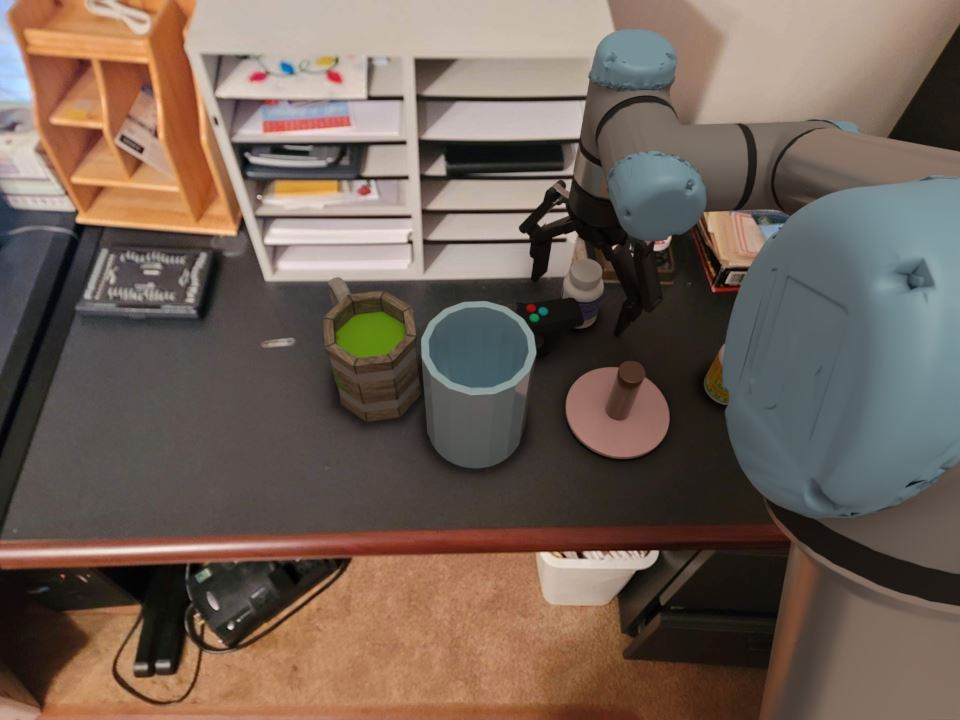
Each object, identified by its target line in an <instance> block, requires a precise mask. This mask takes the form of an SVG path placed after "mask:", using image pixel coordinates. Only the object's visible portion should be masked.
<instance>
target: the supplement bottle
mask: <svg viewBox="0 0 960 720" xmlns="http://www.w3.org/2000/svg"><path fill="white" fill-rule="evenodd" d="M724 348H725V343H724V344H723V345H722V346H721V347H720V348H719V350H718V352H717V354H716V356H715V358H714V361H713V362H712V364H711V365H710V367H709V370H707V372H706V375H705V377H704V381H703V387H704V391H705V393H706V394H707V395H708V397H709V398H711V400H713V401H714V402H716V403H718V404H719V405H724V406H728V403H729V392H728V391H726V390H724V389H723V387H722V367H723V356H724Z"/></svg>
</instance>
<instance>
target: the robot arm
mask: <svg viewBox="0 0 960 720" xmlns="http://www.w3.org/2000/svg"><path fill="white" fill-rule="evenodd" d="M677 64H678V53H677V50H676V48H675V46H674V45H673V44H672V42H671V41H669V40H668V39H667V38H666V37H664V36H662V34H659V33H656V32H654V31H651V30H647V29H642V28H633V29H631V28H628V29H627V28H625V29H620V30H616V31H613V32H611V33H609V34H607V35H606V36H605V37H603V38H602V39H601V40H600V42H599V43H598V44H597V46H596V49H595V51H594V56H593V60H592V65H591V68H590V71H589V72H588V76H587V78H588V86H587V92H586V97H585V103H584V109H583V114H582V121H581V127H580V134H579V139H578V140H579V141H578V144H577V149H576V154H575V160H574V165H573V170H572V172H573V174H572V177H571V182H570V189H569V191H568V190H567V189H566V188H567V183H566V182H565V181H564V180H563V179H558V180H557V181H556V182H554V184H552V185H551V186H550V187H548V189H546V190H545V192H544V197H543V200H542V202H541V203H539V205H538V206H537V207H536V208H534V210H533V211H532V212H531V213H530V214H529V215H528V216H527V217H526V218H525V220H524V221H522V223H521V224H519V225H518V230H519V232H520V233H521V234H523V235H524V234H525V235H526V234H527V236H528V238H529V241H530V246H529V252H528V253H529V257H530V258H531V259H533V260H532V267H531V273H530V281H531V282H533V283H536V282H538V281H539V280H540V279H541V278H542V277H544V276H545V275H546V273H547V272H548V270H549V263H550V257H551V251H552V246H553V239H554V238H556V237H560V236H561V235H564V236H565V235H568V234H571V233H573V232H575V233H576V234H577V235H578V236H577V237H578V238H579V239H581V240H582V241H585V242H587V243H589V244H590V245H591V246H593V247H594V248H595V249H597V250H599V251H600V250H601V252H602V255H603V257H604V258H605V261H606V262H610V264H611V267H612V268H613V271H614V273H615V275H616V277H617V279H618V281H619V284H620V286H621V288H622V291H623V292H624V294H625V296H626V299H625V300H624V301H623V302H622V304H621V309H620V311H619V315H618V317H617V321H616V323H615V327H614V330H613V333H612V335H613V336H615V337H616V338H619V337H620V336H621V335H622V334H623V333H624V332H625V331H626V330H627V329H628V328H629V327H630V326H631V323H632V324H633V323H634V322H636V321H637V319H639V317H640V316H641V315H642V313H643V311H645V312H646V313H649V314H651V313H653V312H654V310H655V309H656V308H657V307H658V306H659V305H660V304H661V303H662V302H663V301H664V295H663V289H662V285H661V280H660V275H659V269H658V264H657V260H656V255H655V250H654V249H655V244H656V242H662V241H663V242H664V241H667V240H668V239H669V237H671V236H674V235H678V236H680V235H683V234H685V233H686V232H688V231H690V230H691V229H692V228H693V227H695V226H696V225H697V224H698V222H699V221H700V220H701V218H702V217H703V215H704V213H715V212H716V213H717V212H718V213H719V212H720V213H721V212H732V211H733V212H737V211H762V210H764V211H765V210H766V211H767V210H769V211H770V210H771V211H778V212H780V213H783V214H785V215H786V216H789V217H788V218H787V220H786V221H784V223H783V225H782V226H781V228H780V229H779V230H777V231H775V232H773V233H771V235H770V236H769V237H768V238H767V240H766V241H765V242H764V243H763V244H762V247H761V248H760V249H759V251H758V253H757V254H756V255H755V257H754V259H753V260H752V262H751V264H750V266H749V267H748V269H747V271H746V273H745V275H744V277H743V279H742V282H741V284H740V286H739V289H738V292H737V294H736V297H735V300H734V303H733V306H732V310H731V314H730V318H729V321H728V323H727V324H728V325H727V330H726V335H725V341H724V344H725V348H724V356H723V367H722V387H723V389H724V390H726V391H728V392H729V403H728V405H726V408H725V409H724V416H725V424H726V427H727V428H726V429H727V433H728V437H729V438H728V439H729V440H730V444H731V447H732V449H733V453H734V455H735V458H736V460H737V462H738V464H739V467H740V468H741V470H742V472H743V474H744V475H745V476H746V478H747V479H748V481H750V483H751V485H752V487H754V488H755V489H756V490H757V491H758V492H759V493H760V494H761V495H762V498H763V503H764V505H765V507H766V510H767V513H768V514H769V516H770V517H771V519H772V521H773V522H774V523H775V525H776V527H778V528H779V530H780V531H781V532H782V533H783V535H785V537H787V539H789V540H790V545H789V551H788V557H787V563H786V568H785V574H784V578H783V584H782V589H781V595H780V601H779V606H778V611H777V612H778V613H777V617H776V623H775V628H774V633H773V640H772V645H771V650H770V656H769V661H768V662H769V663H768V668H767V673H766V677H765V678H766V679H765V683H764V689H763V695H762V700H761V706H760V711H759V716H758V720H960V151H958V150H952V149H948V148H941V147H936V146H931V145H925V144H920V143H916V142H909V141H904V140H898V139H894V138H889V137H882V136H877V135H872V134H866V133H862V132H861V129H860V127H859V126H858V125H857V124H855V123H853V122H851V121H846V120H833V119H832V120H831V119H826V118H825V119H823V118H813V119H812V118H811V119H806V120H799V121H777V122H776V121H775V122H755V123H754V122H753V123H751V122H750V123H742V122H739V123H737V122H736V123H735V122H734V123H706V124H705V123H704V124H681V122H680V121H679V117H678V114H677V112H676V109H675V107H674V104H673V102H672V99H671V89H672V88H671V87H672V86H673V84H674V83H675V80H676V69H677ZM562 204H564V205H565V209H566V212H567V214H568V215H566V216H564V217H562V218H559V219H557V220H555V221H551V222H549V223H546V222H545V223H544V224H543V225H542V226H541V225H539V223H540V221H541V220H542V219H544V217H545V216H546V215H547V214H549V212H551V210H552V209H554V207H556V206H561V205H562ZM613 247H614V248H613Z"/></svg>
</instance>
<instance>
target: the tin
mask: <svg viewBox="0 0 960 720" xmlns="http://www.w3.org/2000/svg"><path fill="white" fill-rule="evenodd" d="M420 349H421V350H420V352H421V367H422V380H423V393H424V406H425V420H426V432H427V436H428V439H429V441H430V443H431V445H432V446H433V448H434V450H435V451H436V452H437V454H439V455H440V456H441V457H442V458H443V459H445V460H446V461H448V462H450V463H451V464H453V465H456V466H459V467H461V468H467V469H484V468H485V469H486V468H489V467H493V466H495V465H496V466H497V465H498V464H501V463H502V462H504V461H505V460H507V459H508V458H509V457H511V456H512V455H513V454H514V453H515V451H516V450H517V448H518V447H519V445H520V443H521V440H522V437H523V433H524V431H525V427H526V421H527V414H528V408H529V403H530V395H531V391H532V390H531V389H532V383H533V377H534V371H535V366H536V365H535V364H536V359H537V357H536V345H535V338H534V334H533V332H532V331H531V329H530V328H529V326H528V325H527V323H526V322H525V320H524V319H523V318H522V317H520V316H519V315H517V314H516V313H515V312H513V311H512V310H510V309H509V308H507V307H505V306H502V305H501V304H497V303H494V302H491V301H487V300H480V301H479V300H477V301H462V302H460V303H457V304H454V305H450V306H448V307H445V308H444V309H443V310H441V311H440V312H439V313H438V314H437V315H436V316H434V317H433V318H432V319H431V320H430V321H429V322H428V324H427V326H426V328H425V330H424V332H423V334H422V336H421V338H420Z"/></svg>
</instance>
